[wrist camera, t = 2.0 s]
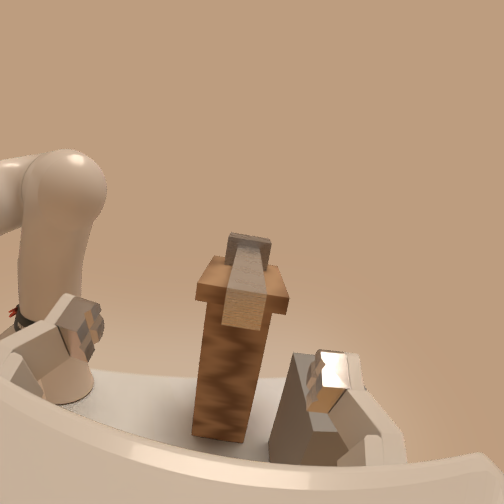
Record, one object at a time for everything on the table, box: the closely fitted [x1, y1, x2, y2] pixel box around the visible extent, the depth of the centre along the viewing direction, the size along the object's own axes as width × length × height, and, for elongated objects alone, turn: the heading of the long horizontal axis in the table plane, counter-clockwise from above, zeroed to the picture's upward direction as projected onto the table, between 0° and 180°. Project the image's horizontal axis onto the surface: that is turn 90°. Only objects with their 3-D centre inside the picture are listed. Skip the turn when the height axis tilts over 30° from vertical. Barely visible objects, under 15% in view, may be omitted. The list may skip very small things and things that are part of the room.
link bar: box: [221, 233, 271, 331], centre depth 36 cm, size 6×26×4 cm, turn 1°
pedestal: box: [268, 353, 367, 467], centre depth 34 cm, size 8×16×17 cm, turn 1°
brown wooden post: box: [192, 256, 289, 443], centre depth 44 cm, size 10×16×26 cm, turn 1°
